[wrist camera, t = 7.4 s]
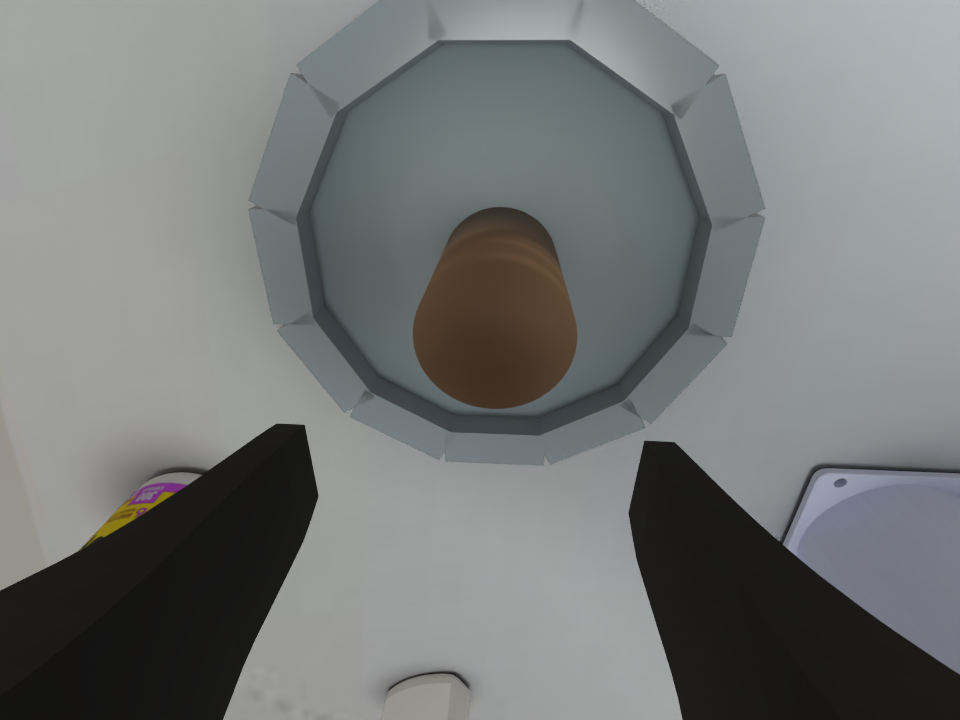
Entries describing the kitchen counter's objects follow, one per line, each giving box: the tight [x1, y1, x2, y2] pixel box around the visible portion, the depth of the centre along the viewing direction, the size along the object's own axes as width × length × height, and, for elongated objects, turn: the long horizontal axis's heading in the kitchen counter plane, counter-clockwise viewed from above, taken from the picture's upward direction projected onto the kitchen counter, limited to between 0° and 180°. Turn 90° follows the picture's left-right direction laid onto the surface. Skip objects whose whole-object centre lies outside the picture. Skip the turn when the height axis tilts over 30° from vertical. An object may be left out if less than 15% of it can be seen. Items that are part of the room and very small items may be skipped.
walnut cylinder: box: [413, 207, 577, 409], centre depth 14 cm, size 4×4×6 cm
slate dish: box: [248, 0, 765, 466], centre depth 17 cm, size 16×16×2 cm
